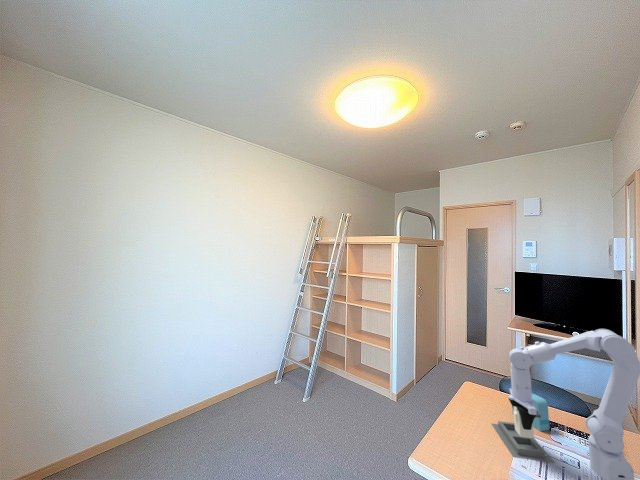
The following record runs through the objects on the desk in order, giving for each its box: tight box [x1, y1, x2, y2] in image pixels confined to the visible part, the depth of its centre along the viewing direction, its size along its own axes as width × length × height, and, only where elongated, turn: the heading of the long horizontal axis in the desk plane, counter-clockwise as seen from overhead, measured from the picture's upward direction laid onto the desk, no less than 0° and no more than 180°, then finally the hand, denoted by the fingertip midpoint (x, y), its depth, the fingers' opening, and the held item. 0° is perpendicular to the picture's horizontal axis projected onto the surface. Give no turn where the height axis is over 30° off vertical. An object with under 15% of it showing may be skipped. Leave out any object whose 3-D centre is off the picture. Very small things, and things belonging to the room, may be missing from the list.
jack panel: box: [491, 421, 556, 464], centre depth 96 cm, size 19×12×3 cm, turn 166°
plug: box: [512, 406, 541, 439], centre depth 93 cm, size 4×8×8 cm, turn 76°
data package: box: [511, 392, 550, 432], centre depth 108 cm, size 12×4×12 cm, turn 11°
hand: (523, 425), depth 93 cm, fingers closed on plug, 4 cm apart
